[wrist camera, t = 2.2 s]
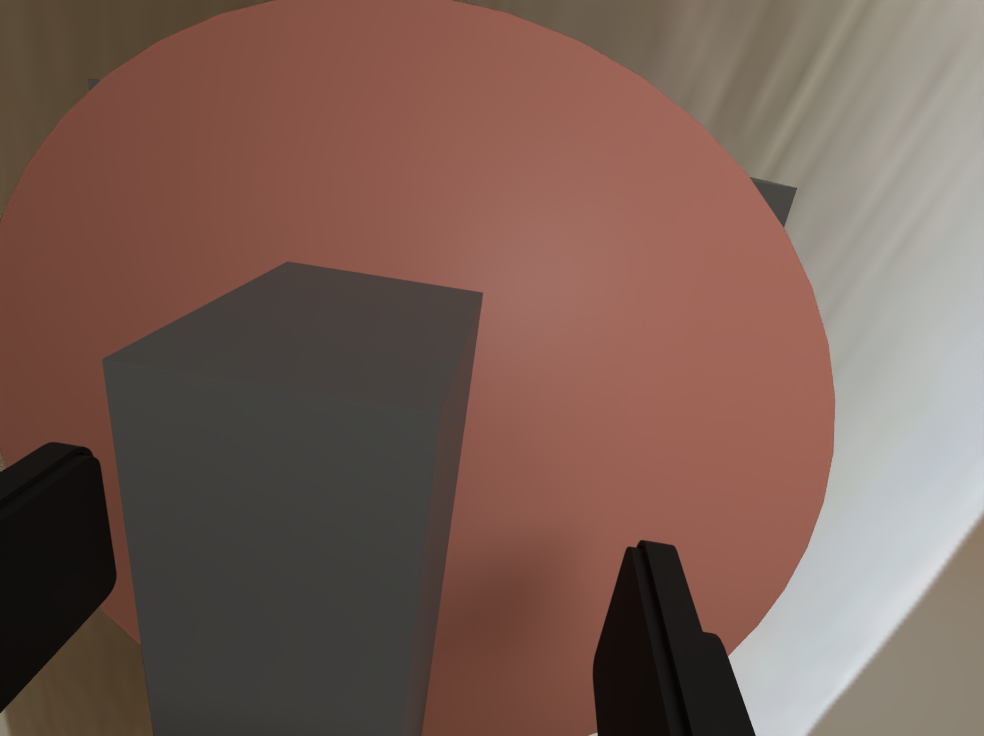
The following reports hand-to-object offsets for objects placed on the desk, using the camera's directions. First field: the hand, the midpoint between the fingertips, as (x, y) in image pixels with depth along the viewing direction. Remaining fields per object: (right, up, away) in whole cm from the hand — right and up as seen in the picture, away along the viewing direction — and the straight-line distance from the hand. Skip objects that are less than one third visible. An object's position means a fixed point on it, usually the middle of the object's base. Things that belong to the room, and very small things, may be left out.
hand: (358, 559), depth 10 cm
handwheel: (0, +1, +3) cm, 4 cm away
